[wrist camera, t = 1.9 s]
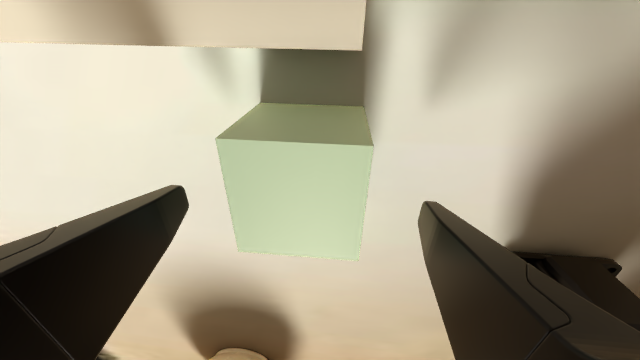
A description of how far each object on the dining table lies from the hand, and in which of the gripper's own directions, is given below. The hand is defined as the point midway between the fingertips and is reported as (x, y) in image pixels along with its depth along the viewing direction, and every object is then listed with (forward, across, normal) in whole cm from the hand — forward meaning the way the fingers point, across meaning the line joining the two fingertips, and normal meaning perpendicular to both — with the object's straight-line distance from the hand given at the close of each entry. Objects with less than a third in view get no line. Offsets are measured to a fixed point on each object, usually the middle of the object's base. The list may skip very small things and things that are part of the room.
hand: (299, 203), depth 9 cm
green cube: (+5, 0, 0) cm, 5 cm away
